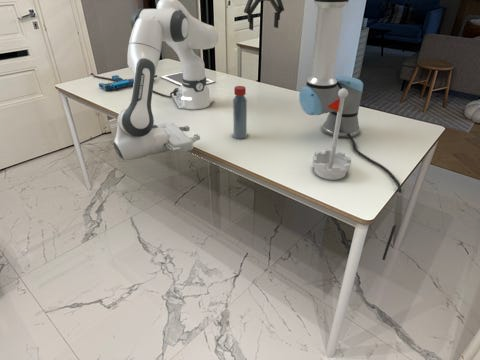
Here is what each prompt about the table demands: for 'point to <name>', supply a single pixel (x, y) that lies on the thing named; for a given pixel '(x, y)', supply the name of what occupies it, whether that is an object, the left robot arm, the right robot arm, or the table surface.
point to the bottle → (240, 117)
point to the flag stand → (333, 149)
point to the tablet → (180, 78)
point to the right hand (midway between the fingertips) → (263, 28)
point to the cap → (239, 90)
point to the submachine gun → (117, 83)
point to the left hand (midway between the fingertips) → (193, 132)
